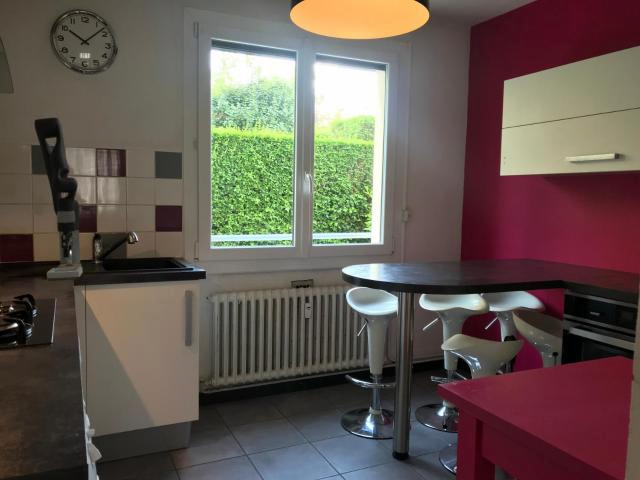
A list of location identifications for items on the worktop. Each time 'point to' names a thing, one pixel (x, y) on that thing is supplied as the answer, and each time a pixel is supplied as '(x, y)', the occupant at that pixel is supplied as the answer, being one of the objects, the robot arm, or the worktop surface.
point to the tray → (64, 273)
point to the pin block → (68, 266)
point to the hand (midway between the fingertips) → (67, 256)
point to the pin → (69, 258)
